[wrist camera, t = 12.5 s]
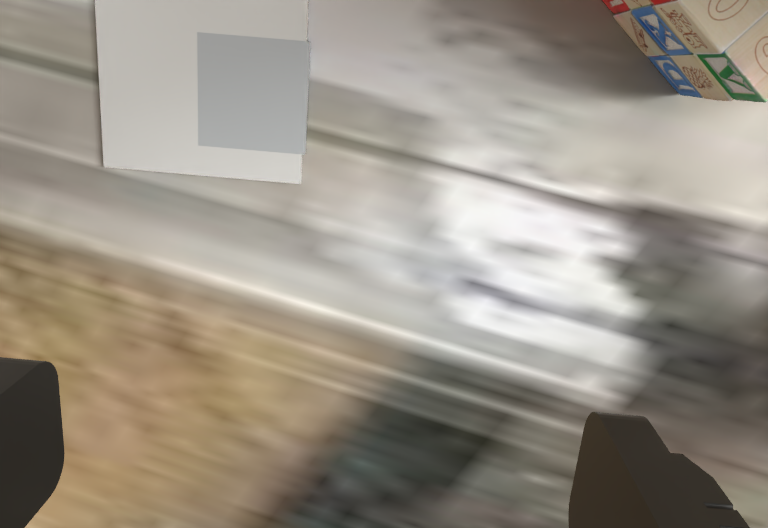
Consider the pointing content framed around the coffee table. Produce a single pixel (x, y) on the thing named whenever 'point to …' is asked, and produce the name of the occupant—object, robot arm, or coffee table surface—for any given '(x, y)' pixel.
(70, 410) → the coffee table surface
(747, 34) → the stack of blocks
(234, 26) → the white board
